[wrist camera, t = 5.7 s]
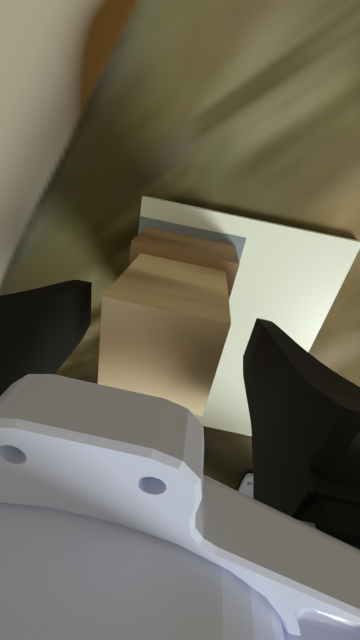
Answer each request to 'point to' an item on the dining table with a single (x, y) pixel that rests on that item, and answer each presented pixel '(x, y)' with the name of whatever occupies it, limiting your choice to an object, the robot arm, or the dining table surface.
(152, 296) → the maple pillar
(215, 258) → the walnut base
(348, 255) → the cream flat slab
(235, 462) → the dining table surface
